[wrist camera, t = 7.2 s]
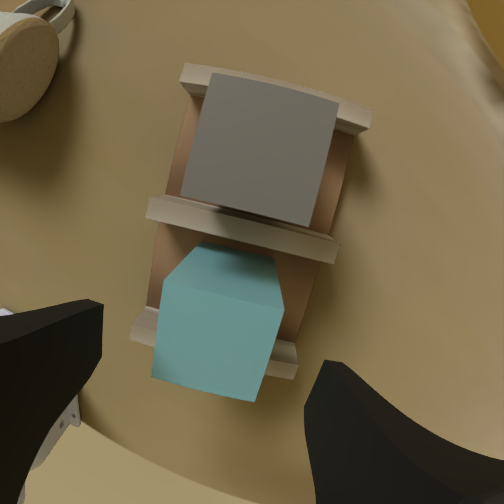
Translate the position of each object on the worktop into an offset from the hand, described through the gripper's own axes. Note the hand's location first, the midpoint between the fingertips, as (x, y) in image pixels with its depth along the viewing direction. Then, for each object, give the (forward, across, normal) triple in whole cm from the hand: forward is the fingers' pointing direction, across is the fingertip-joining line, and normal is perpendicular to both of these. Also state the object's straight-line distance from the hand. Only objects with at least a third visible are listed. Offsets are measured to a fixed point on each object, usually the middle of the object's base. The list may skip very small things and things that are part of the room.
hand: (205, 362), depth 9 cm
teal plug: (+8, 0, 0) cm, 8 cm away
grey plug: (+8, 0, -7) cm, 11 cm away
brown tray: (+9, 0, -3) cm, 10 cm away
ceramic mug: (+9, +19, -12) cm, 24 cm away
